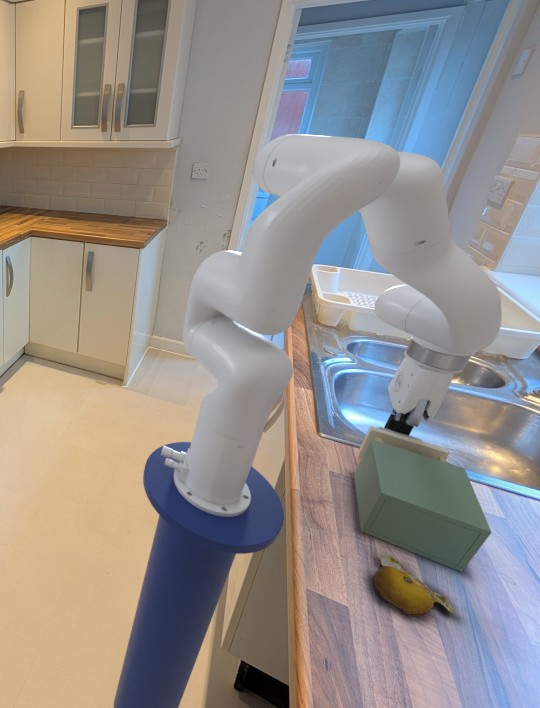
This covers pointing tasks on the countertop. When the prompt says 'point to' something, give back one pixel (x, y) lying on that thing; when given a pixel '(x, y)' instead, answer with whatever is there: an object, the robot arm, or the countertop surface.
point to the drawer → (402, 443)
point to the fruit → (405, 589)
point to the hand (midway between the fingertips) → (394, 435)
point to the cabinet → (419, 505)
